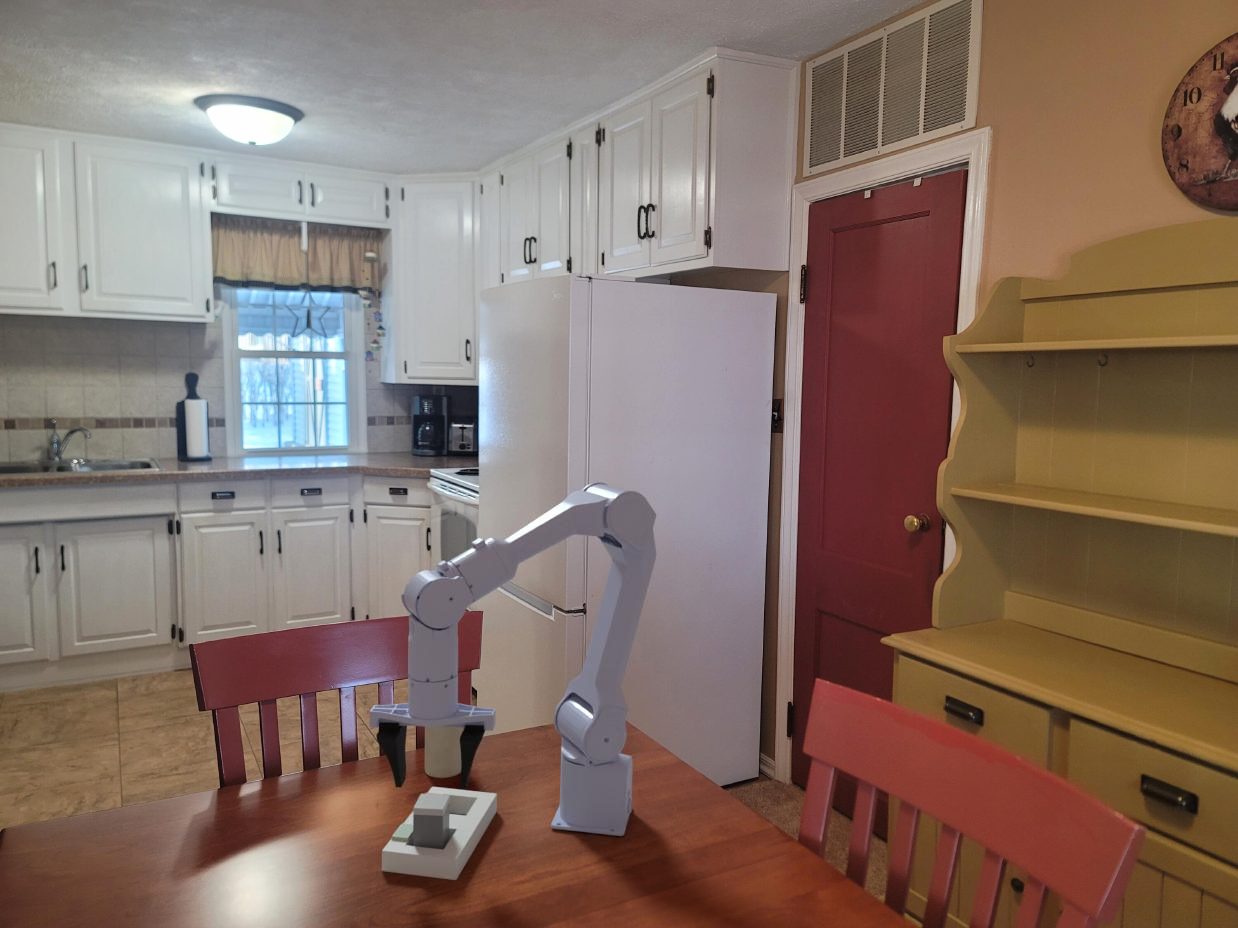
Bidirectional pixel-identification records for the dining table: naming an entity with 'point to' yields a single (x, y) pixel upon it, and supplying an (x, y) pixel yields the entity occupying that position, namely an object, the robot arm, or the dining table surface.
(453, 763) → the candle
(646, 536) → the robot arm
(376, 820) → the dining table surface
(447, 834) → the plug
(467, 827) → the socket strip
